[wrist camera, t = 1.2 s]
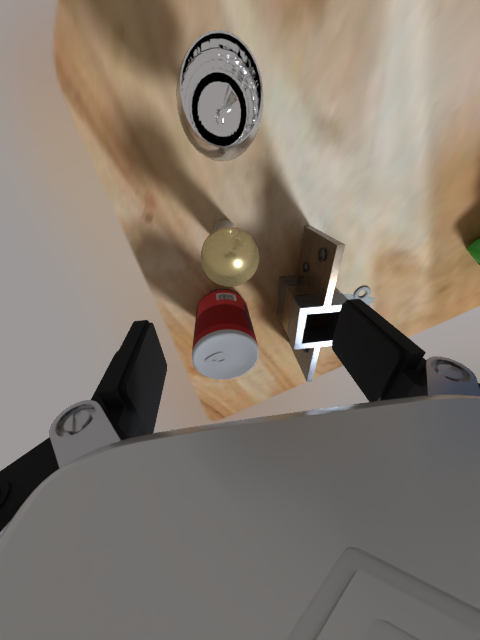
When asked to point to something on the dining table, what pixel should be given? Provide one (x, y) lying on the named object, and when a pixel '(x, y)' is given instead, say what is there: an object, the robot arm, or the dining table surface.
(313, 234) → the hinge leaf
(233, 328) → the canned food
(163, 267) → the dining table surface
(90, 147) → the dining table surface
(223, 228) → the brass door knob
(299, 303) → the hinge leaf
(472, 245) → the fruit basket
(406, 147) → the dining table surface
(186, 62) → the wineglass
